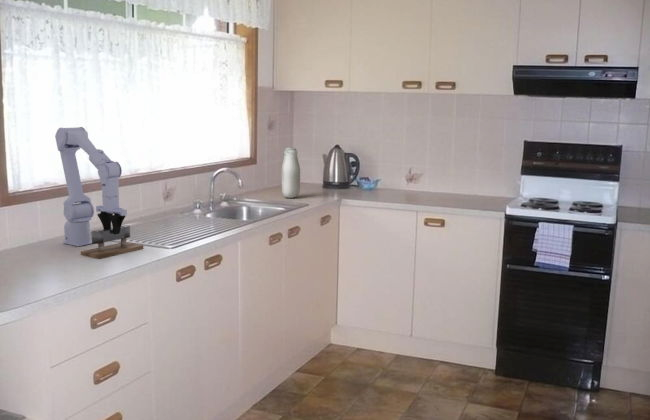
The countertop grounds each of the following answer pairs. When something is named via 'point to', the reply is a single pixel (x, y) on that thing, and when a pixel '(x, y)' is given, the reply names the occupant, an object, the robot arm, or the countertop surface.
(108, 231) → the dark grey bar
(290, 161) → the glass bottle
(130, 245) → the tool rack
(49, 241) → the countertop surface
